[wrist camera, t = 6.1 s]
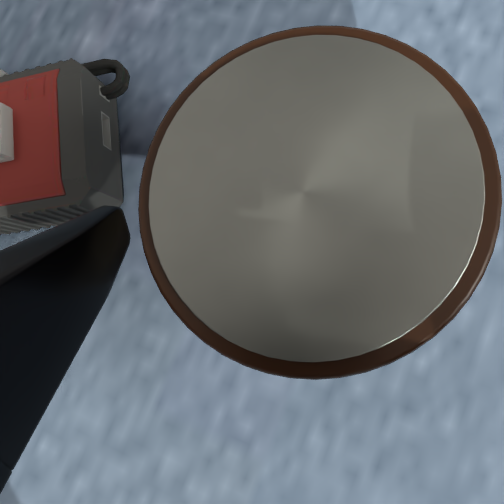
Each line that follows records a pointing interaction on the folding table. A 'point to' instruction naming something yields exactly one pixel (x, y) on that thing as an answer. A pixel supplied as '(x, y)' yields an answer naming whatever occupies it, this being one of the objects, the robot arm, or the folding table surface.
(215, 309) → the coffee can
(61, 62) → the walkie-talkie
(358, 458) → the folding table surface
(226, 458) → the folding table surface
